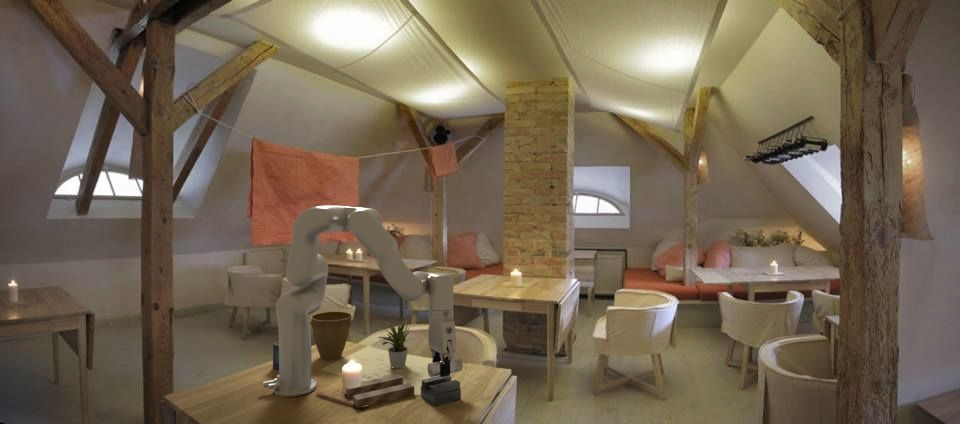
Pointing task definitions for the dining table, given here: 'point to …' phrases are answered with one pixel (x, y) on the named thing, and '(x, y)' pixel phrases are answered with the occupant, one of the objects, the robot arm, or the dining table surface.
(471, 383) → the dining table surface
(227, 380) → the dining table surface
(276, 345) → the flask
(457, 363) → the axle
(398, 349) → the house plant
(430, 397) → the v-block
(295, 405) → the dining table surface
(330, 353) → the plant pot
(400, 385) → the parallel rectangular beams
